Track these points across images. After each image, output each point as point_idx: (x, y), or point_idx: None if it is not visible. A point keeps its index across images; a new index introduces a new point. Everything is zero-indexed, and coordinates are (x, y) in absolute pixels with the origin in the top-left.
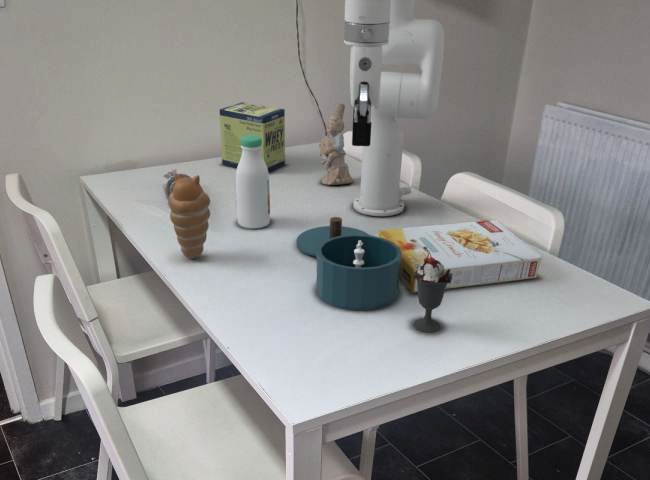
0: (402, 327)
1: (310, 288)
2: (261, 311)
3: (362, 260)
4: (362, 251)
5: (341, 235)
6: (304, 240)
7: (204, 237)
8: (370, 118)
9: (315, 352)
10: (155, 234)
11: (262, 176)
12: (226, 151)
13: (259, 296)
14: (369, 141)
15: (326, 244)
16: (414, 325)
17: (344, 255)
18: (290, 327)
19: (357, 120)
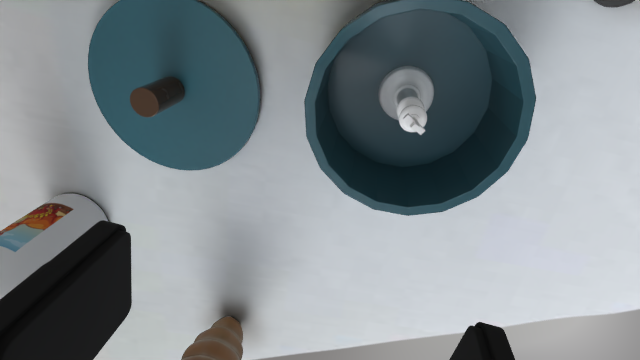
0: (601, 35)
1: None
2: (440, 266)
3: (409, 101)
4: (423, 113)
5: (142, 68)
6: (174, 154)
7: (227, 339)
8: (61, 279)
9: (614, 218)
10: (146, 351)
11: (14, 271)
12: None
13: (385, 260)
14: (508, 353)
15: (347, 181)
16: (613, 5)
17: (323, 116)
18: (511, 237)
19: (89, 344)
